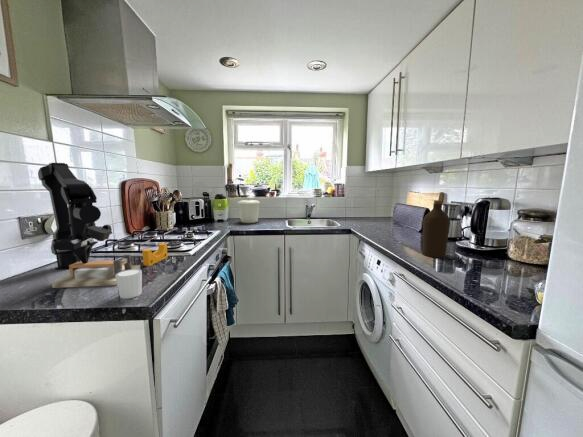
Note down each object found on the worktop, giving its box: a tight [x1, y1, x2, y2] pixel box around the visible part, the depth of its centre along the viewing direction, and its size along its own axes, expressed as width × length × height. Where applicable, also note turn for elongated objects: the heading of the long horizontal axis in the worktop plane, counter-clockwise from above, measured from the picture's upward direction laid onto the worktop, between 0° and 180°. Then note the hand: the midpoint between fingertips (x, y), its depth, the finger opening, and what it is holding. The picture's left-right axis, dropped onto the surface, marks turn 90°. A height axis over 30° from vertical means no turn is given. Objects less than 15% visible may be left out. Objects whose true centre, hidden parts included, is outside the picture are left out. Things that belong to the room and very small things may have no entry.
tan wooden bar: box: [68, 257, 128, 275], centre depth 92 cm, size 17×5×4 cm, turn 96°
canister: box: [237, 196, 261, 224], centre depth 206 cm, size 18×18×21 cm
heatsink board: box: [51, 254, 141, 289], centre depth 92 cm, size 20×16×7 cm
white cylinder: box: [115, 269, 143, 299], centre depth 78 cm, size 7×7×7 cm
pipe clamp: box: [141, 242, 169, 267], centre depth 110 cm, size 12×4×6 cm, turn 171°
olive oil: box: [421, 199, 451, 259], centre depth 116 cm, size 11×11×25 cm
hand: (85, 263), depth 91 cm, fingers closed, pressing on tan wooden bar
